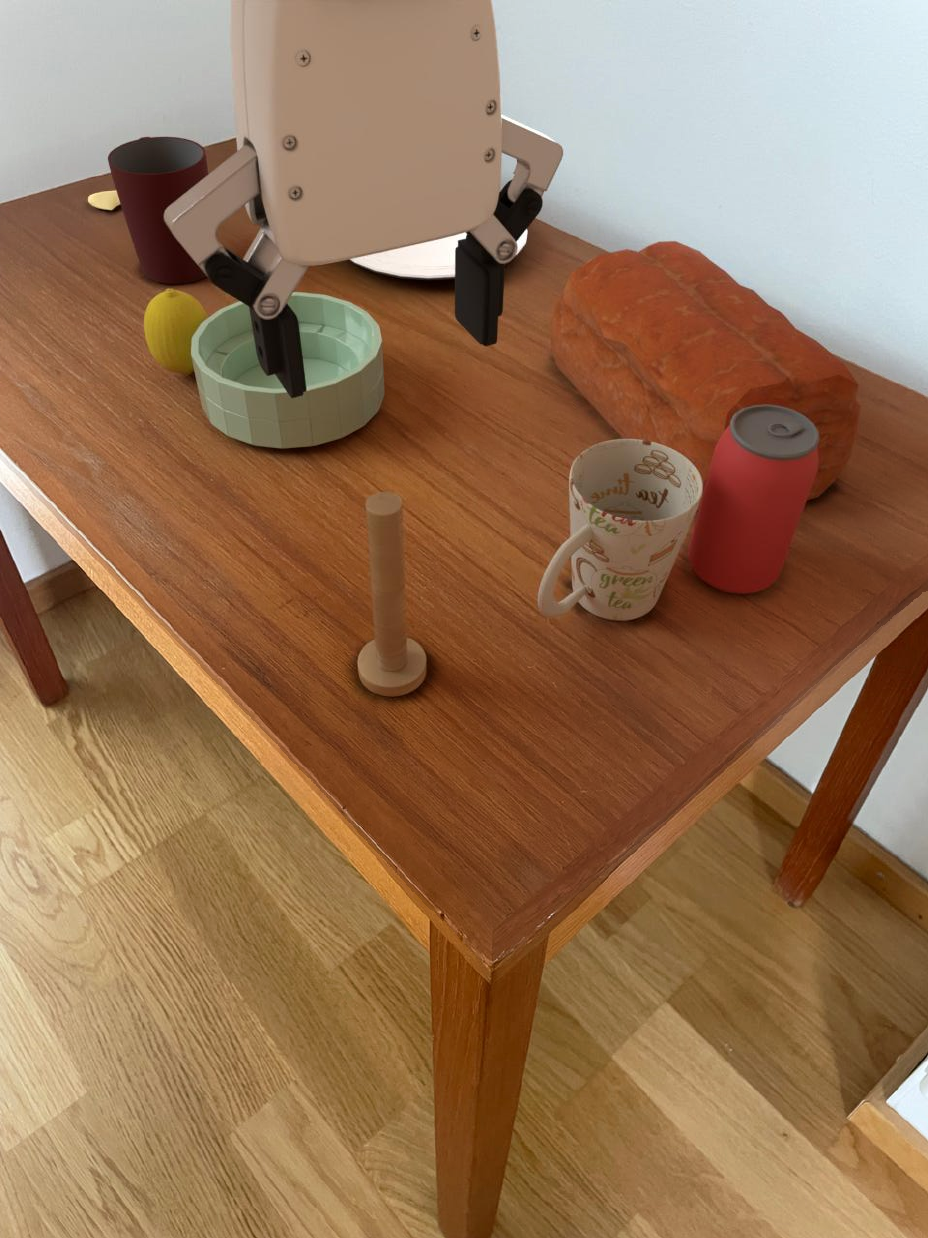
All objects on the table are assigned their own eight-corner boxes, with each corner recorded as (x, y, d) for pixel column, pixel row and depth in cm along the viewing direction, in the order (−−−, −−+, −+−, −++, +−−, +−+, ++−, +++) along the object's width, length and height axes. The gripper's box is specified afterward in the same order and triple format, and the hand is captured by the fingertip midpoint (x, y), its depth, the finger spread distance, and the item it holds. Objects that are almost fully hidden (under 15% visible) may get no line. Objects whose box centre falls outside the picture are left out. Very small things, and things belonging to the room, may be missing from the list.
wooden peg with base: (374, 706, 60) (362, 539, 50) (347, 658, 63) (330, 490, 53) (438, 682, 62) (438, 515, 51) (408, 636, 64) (403, 469, 54)
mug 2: (698, 589, 68) (729, 477, 61) (588, 689, 62) (608, 578, 54) (603, 534, 72) (622, 422, 64) (491, 623, 65) (497, 510, 58)
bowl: (237, 476, 75) (225, 411, 71) (182, 378, 85) (168, 315, 80) (413, 426, 80) (412, 363, 76) (343, 338, 90) (338, 277, 85)
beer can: (796, 588, 68) (849, 451, 59) (711, 606, 67) (753, 468, 58) (751, 529, 72) (794, 392, 64) (671, 544, 71) (704, 407, 62)
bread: (675, 323, 93) (697, 214, 85) (860, 486, 76) (908, 369, 68) (531, 356, 88) (540, 244, 80) (695, 538, 72) (726, 419, 64)
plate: (302, 277, 97) (300, 259, 96) (365, 192, 111) (364, 176, 110) (504, 306, 94) (505, 288, 93) (543, 215, 108) (544, 198, 107)
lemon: (213, 392, 83) (196, 307, 77) (148, 391, 83) (127, 305, 77) (224, 358, 87) (209, 274, 81) (163, 356, 87) (143, 272, 81)
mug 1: (121, 242, 102) (94, 132, 94) (205, 228, 104) (185, 119, 96) (144, 295, 94) (117, 180, 86) (233, 278, 97) (215, 165, 89)
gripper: (526, -126, 38) (506, 281, 51) (80, -86, 32) (182, 361, 45) (634, -85, 34) (582, 351, 46) (137, -31, 28) (232, 449, 40)
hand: (384, 356), depth 45 cm, fingers open, 9 cm apart
